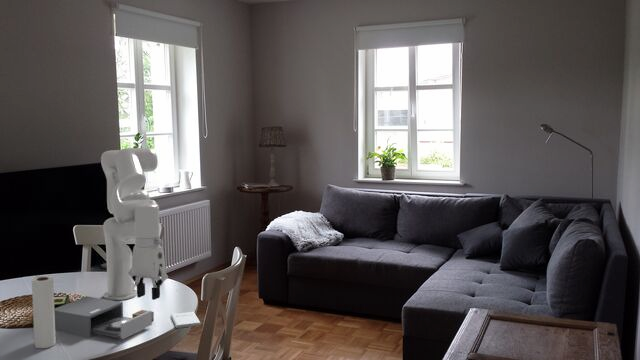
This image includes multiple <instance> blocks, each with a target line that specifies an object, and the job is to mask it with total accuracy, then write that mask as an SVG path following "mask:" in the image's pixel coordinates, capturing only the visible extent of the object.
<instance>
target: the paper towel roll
mask: <svg viewBox="0 0 640 360" xmlns="http://www.w3.org/2000/svg"><path fill="white" fill-rule="evenodd" d="M31 292H32V293H31V294H32V314H33V315H32V316H33V317H32V318H33V338H34V347H35V348H36V349H49V348H51V347H53V346H56V344H57V342H56V341H57V340H56V331H55V312H54V309H55V293H54V292H55V290H54V277H53V276H45V275H44V276H43V275H42V276H40V275H39V276H38V275H35V277H34V278H32V279H31Z"/></svg>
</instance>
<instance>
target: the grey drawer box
mask: <svg viewBox="0 0 640 360" xmlns="http://www.w3.org/2000/svg"><path fill="white" fill-rule="evenodd" d="M54 312H55V332H60V333H63V334H70V335H74V336H80V337H85V338H92V337H93V336H95V335H97V334H96V333H91V325H93V324H96V323H98V322H100V321H102V320H105V319H107V318H109V317H111V316H113V317H120V316H121V317H124V305H123V301H119V300H108V299H105V298H100V297H99V298H98V297H93V296H84V297H82V298H80V299H77V300H73V301H70V302H68V303H66V304H63V305H60V306H58V307H54Z"/></svg>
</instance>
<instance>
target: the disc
mask: <svg viewBox="0 0 640 360" xmlns="http://www.w3.org/2000/svg"><path fill="white" fill-rule="evenodd" d="M130 318H131V317H127V318H115V319H112V320H110V321H109V328H110V329H111V330H121V323H123V322H126V321H128V320H130Z"/></svg>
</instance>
